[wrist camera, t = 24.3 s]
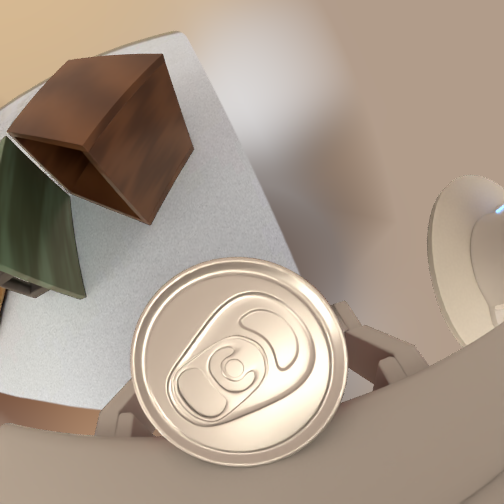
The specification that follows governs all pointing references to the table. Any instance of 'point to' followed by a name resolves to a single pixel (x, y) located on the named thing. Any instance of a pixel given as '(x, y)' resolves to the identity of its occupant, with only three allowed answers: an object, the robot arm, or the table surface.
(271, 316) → the soda can
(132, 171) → the cupboard
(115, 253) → the table surface
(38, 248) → the cupboard door
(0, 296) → the stone cup
